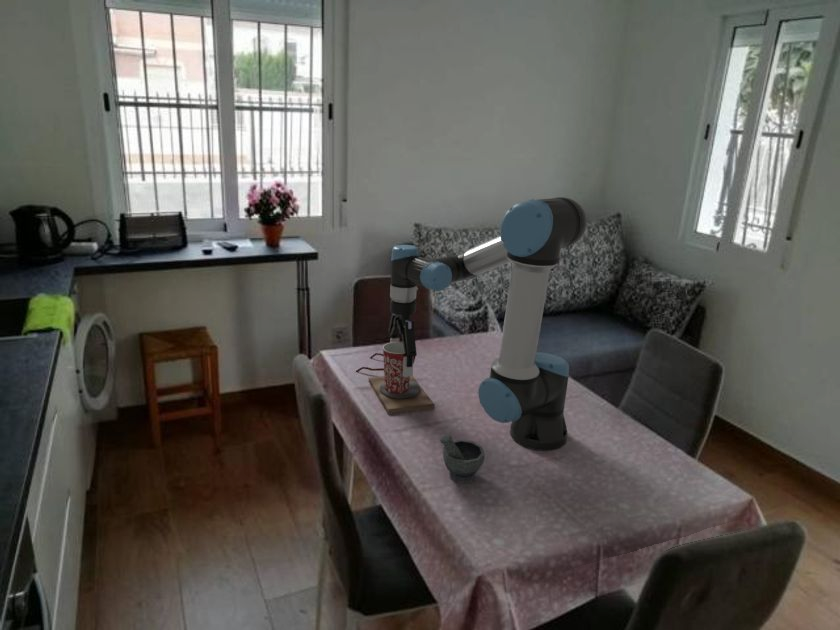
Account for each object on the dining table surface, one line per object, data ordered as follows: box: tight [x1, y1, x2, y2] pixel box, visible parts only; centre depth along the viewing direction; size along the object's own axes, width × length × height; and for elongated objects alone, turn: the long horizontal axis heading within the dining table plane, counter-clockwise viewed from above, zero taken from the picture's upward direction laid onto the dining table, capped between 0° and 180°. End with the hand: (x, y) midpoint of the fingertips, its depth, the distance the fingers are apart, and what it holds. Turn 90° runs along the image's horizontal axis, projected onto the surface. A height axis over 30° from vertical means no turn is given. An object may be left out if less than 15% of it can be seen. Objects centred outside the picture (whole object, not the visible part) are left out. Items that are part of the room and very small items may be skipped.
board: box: [368, 375, 435, 415], centre depth 183 cm, size 22×14×2 cm, turn 19°
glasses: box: [355, 352, 384, 373], centre depth 202 cm, size 13×13×5 cm
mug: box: [382, 341, 416, 394], centre depth 181 cm, size 13×9×14 cm
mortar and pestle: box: [439, 433, 486, 484], centre depth 142 cm, size 11×9×12 cm
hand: (400, 366), depth 181 cm, fingers open, 13 cm apart
